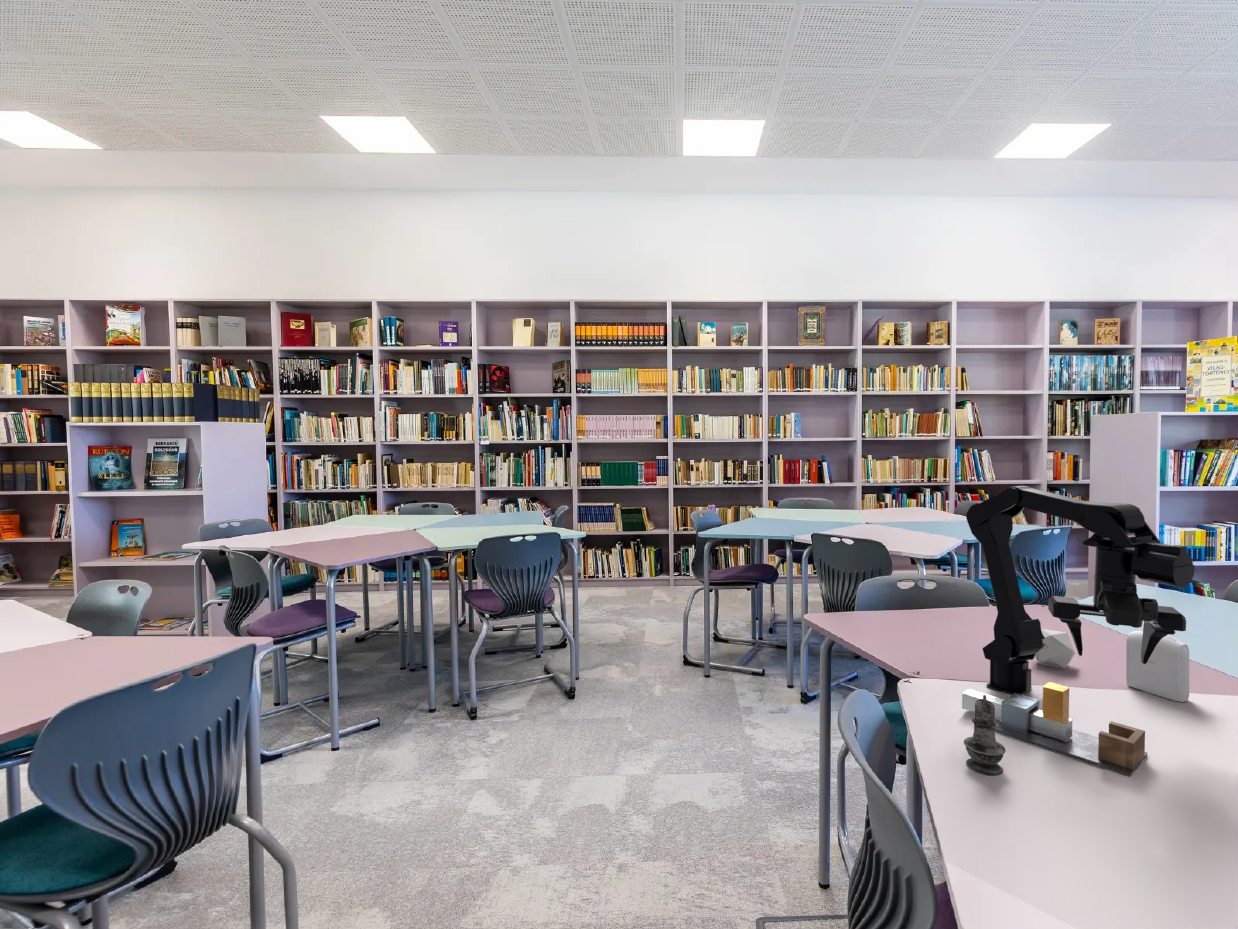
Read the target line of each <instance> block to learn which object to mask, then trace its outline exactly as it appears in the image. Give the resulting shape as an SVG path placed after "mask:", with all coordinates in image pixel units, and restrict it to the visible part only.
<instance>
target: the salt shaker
mask: <svg viewBox="0 0 1238 929" xmlns="http://www.w3.org/2000/svg"><path fill="white" fill-rule="evenodd" d="M985 694H986V693H985ZM985 694H984V695H983V696H982V697H983V698H982V699H978V700H977V701H976V702H975V712H974V717H973V718H971V722H972V724H973V735H972V736H969V737H966V738H965V739H964V740H963V744H964V746H965V749H966V752H967V754H968V756H969V758H967V759H966V761H965V766H966V767H967V768H968V769H969V770H971V771H973V772H975V773H976V774H981V775H984V776H990V777H998V776H1001V775H1003V774H1004V768H1003V767H1002V766H1001V765H1000V764H999V763H1000V762H1001V761H1002V759H1003V758H1004V754H1006V750H1007V748H1005V746H1004V745H1003V744H1001V743H1000V742H999V741H997V739H996V732H995V727H997V726H998V723H997V722H996V719H995V707H994V704H993V703H992V702H991V701H989V700H987V699H986V698H987V697H986V695H985Z"/></svg>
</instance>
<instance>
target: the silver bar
mask: <svg viewBox="0 0 1238 929" xmlns="http://www.w3.org/2000/svg"><path fill="white" fill-rule="evenodd" d="M984 694H985V695H986V697H987V698H986V699H987V700H989V701H991V702H992V703H993V704H994V707H995V720H998V721H1000V722H1001V702H1002V701H1004V700H1005V699H1006V698H1001V697H999V696H998V697H997V696H994V695H990V694H987V693H984V692H980V691H977V690H974V689H970V688H968V689H967V690H965V691H963V692H962V693H961V708H962V709H963V710H967V711H970V712H972V713H975V702H976V701H977V700H978V699H982V698H983V697H982V696H983V695H984ZM1028 729H1029V730H1032V731H1035V732H1038V733H1041V734H1044V735H1047V736H1050V737H1054V738H1057V739H1060V740H1063V741H1067V740H1068V739H1069V738H1070V737H1072V730H1073V719H1072V718H1070V687H1069V686H1066V685H1062V684H1057V683H1054V682H1050V681H1049V682H1047V683H1046V684H1045V685H1043V686H1042V709H1040V708H1039V709H1036V708H1033V709H1031V710H1030V711H1029V712H1028Z"/></svg>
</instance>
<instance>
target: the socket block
mask: <svg viewBox="0 0 1238 929" xmlns="http://www.w3.org/2000/svg"><path fill="white" fill-rule="evenodd" d="M1098 738H1099V741H1098V758H1099V759H1102V760H1105V761H1108V762H1111V763H1114V764H1117V765H1120V766H1124V767H1127V768H1130V769H1134V768H1135V767H1136V766H1137V764H1138V763H1139V762H1140V761H1141V760H1142V758H1143V757H1144V756H1145V752H1146V743H1145V742H1146V730H1144V729H1140V728H1136V727H1132V726H1129V725H1126V724H1123V723H1119V722H1115V721H1113V720H1112V721H1110V722H1109V723H1108V732H1106V731H1102V730H1100V731H1099V732H1098Z"/></svg>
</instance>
